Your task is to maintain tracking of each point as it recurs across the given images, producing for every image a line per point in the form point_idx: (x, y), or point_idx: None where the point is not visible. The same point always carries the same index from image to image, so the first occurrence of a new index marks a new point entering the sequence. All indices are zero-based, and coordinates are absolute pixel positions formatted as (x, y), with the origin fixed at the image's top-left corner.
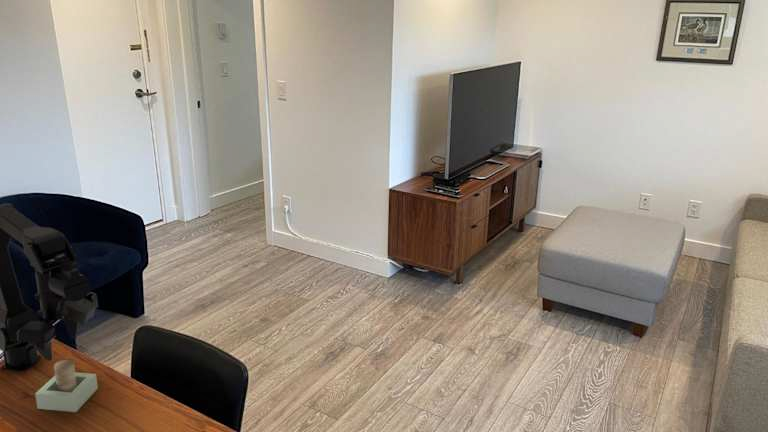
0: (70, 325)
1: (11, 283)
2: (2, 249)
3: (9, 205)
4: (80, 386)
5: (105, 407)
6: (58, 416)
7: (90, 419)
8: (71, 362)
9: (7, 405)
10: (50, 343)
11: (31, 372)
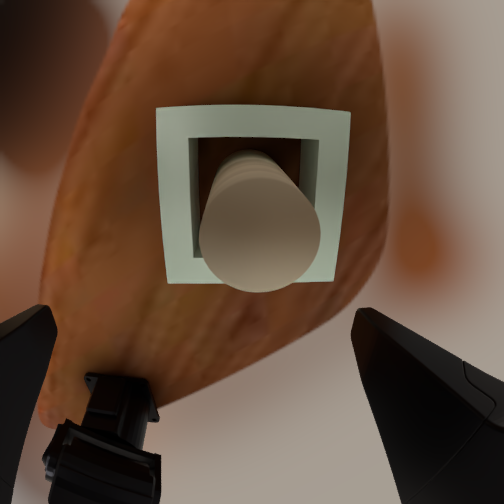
0: (2, 408)
1: None
2: None
3: None
4: (269, 121)
5: (281, 26)
6: None
7: (352, 50)
8: (226, 205)
9: (297, 337)
10: (486, 405)
11: (143, 364)
